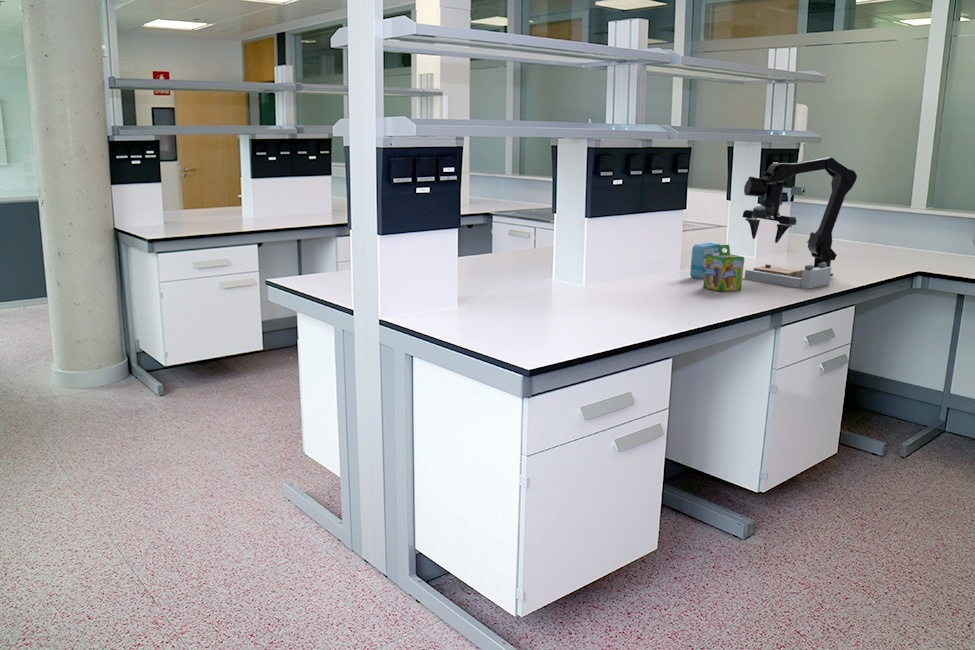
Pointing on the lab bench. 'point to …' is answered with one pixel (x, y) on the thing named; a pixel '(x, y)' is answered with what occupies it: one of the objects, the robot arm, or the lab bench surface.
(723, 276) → the chalk box
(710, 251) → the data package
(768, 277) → the guide rail
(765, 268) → the door panel
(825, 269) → the block
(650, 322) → the lab bench surface
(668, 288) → the lab bench surface
